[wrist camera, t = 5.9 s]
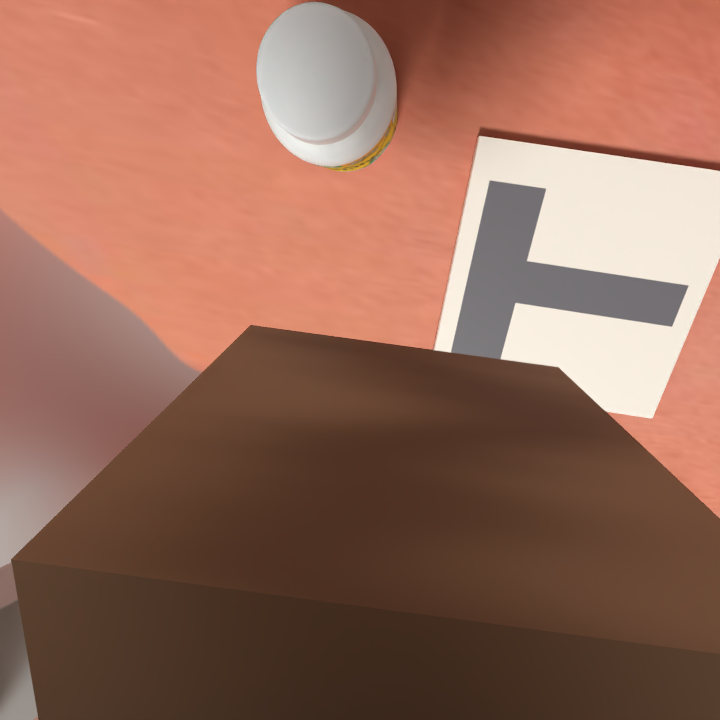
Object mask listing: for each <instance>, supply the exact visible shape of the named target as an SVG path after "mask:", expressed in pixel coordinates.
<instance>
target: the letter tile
mask: <svg viewBox="0 0 720 720" xmlns="http://www.w3.org/2000/svg"><path fill="white" fill-rule="evenodd" d="M719 258H720V171H717V170H710V169H703V168H696V167H690V166H683V165H676V164H669V163H662V162H655V161H649V160H642V159H635V158H628V157H621V156H614V155H608V154H601V153H594V152H587V151H580V150H573V149H567V148H560V147H553V146H546V145H539V144H532V143H526V142H519V141H512V140H505V139H498V138H491V137H485V136H479V137H478V138H477V143H476V147H475V152H474V157H473V162H472V166H471V171H470V176H469V181H468V186H467V190H466V195H465V200H464V205H463V209H462V214H461V219H460V224H459V228H458V233H457V238H456V243H455V247H454V252H453V257H452V262H451V267H450V271H449V276H448V281H447V286H446V290H445V295H444V300H443V305H442V309H441V314H440V319H439V324H438V328H437V333H436V338H435V343H434V347H433V350H437V351H444V352H451V353H459V354H466V355H473V356H481V357H488V358H495V359H503V360H510V361H517V362H525V363H532V364H539V365H547V366H554V367H559V368H560V369H561V370H562V371H563V372H564V373H565V374H566V375H567V376H568V377H569V378H570V379H572V380H573V381H574V382H575V383H576V384H577V385H578V386H579V387H580V388H581V389H582V390H583V391H584V392H585V393H586V394H588V395H589V396H590V397H591V398H592V399H593V400H594V401H595V402H596V403H597V404H598V405H599V406H600V407H601V408H602V409H603V410H605V411H607V412H613V413H619V414H626V415H632V416H638V417H645V418H651V419H652V418H653V415H654V413H655V411H656V408H657V406H658V403H659V401H660V399H661V396H662V394H663V392H664V389H665V387H666V384H667V382H668V380H669V377H670V375H671V373H672V370H673V368H674V365H675V363H676V361H677V358H678V356H679V353H680V351H681V349H682V346H683V344H684V342H685V339H686V337H687V334H688V332H689V330H690V327H691V325H692V323H693V320H694V318H695V315H696V313H697V311H698V308H699V306H700V304H701V301H702V299H703V296H704V294H705V292H706V289H707V287H708V285H709V282H710V280H711V277H712V275H713V273H714V270H715V268H716V265H717V263H718V261H719Z"/></svg>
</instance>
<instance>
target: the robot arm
mask: <svg viewBox="0 0 720 720" xmlns="http://www.w3.org/2000/svg"><path fill="white" fill-rule="evenodd" d="M37 716H38V714H37V708H36V702H35V696H34V690H33V684H32V679H31V673H30V667H29V661H28V655H27V649H26V644H25V638H24V632H23V626H22V620H21V614H20V609H19V603H18V597H17V591H16V585H15V579H14V573H13V568H12V563H9V564H7V565H5V566H3V567H1V568H0V720H33V719H34V718H35V717H37Z"/></svg>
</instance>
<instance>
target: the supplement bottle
mask: <svg viewBox="0 0 720 720" xmlns="http://www.w3.org/2000/svg"><path fill="white" fill-rule="evenodd" d="M256 72H257V83H258V88H259V92H260V95H261V100H262V105H263V110H264V113H265V116H266V119H267V121H268V123H269V125H270V127H271V129H272V131H273V133H274V134H275V136H276V137H277V138H278V140H279V141H280V142H281V143H282V144H283V145H284V146H285V148H287V149H288V150H289V151H290V152H291V153H292V154H294V155H295V156H297V157H299V158H300V159H302V160H304V161H306V162H309V163H312V164H315V165H318V166H322V167H325V168H328V169H331V170H335V171H340V172H350V171H356V170H360V169H362V168H365V167H367V166H369V165H370V164H372V163H373V162H374V161H376V160H377V159H378V158H379V157H380V155H381V154H382V153H383V152H384V151H385V150H386V148H387V147H388V145H389V144H390V142H391V140H392V138H393V135H394V132H395V129H396V124H397V83H396V75H395V69H394V65H393V62H392V59H391V56H390V53H389V51H388V49H387V47H386V45H385V43H384V42H383V40H382V39H381V37H380V36H379V35H378V33H377V32H376V31H375V30H374V29H373V28H372V27H371V26H370V25H369V24H368V23H367V22H365V21H364V20H363V19H361V18H360V17H358V16H356V15H354V14H352V13H350V12H347V11H344V10H341V9H340V8H338V7H336V6H333V5H330V4H327V3H322V2H307V3H302V4H299V5H296V6H293V7H291V8H289V9H287V10H286V11H285V12H283V13H282V14H281V15H280V16H278V17H277V18H276V19H275V20H274V22H273V23H272V24H271V25H270V27H269V28H268V30H267V31H266V33H265V35H264V37H263V39H262V42H261V45H260V48H259V52H258V57H257V67H256Z"/></svg>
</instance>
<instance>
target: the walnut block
mask: <svg viewBox="0 0 720 720" xmlns="http://www.w3.org/2000/svg"><path fill="white" fill-rule="evenodd" d="M11 562H12V568H13V573H14V579H15V585H16V591H17V597H18V603H19V609H20V614H21V620H22V626H23V632H24V638H25V644H26V649H27V655H28V661H29V667H30V673H31V679H32V684H33V690H34V696H35V702H36V708H37V714H38V719H39V720H720V518H719V517H717V516H716V515H715V514H714V513H713V512H712V511H711V510H710V509H709V508H708V507H707V506H706V505H705V504H704V503H703V502H701V501H700V500H699V499H698V498H697V497H696V496H695V495H694V494H693V493H692V492H691V491H690V490H689V489H688V488H687V487H686V486H684V485H683V484H682V483H681V482H680V481H679V480H678V479H677V478H676V477H675V476H674V475H673V474H672V473H671V472H670V471H668V470H667V469H666V468H665V467H664V466H663V465H662V464H661V463H660V462H659V461H658V460H657V459H656V458H655V457H654V456H652V455H651V454H650V453H649V452H648V451H647V450H646V449H645V448H644V447H643V446H642V445H641V444H640V443H639V442H638V441H637V440H635V439H634V438H633V437H632V436H631V435H630V434H629V433H628V432H627V431H626V430H625V429H624V428H623V427H622V426H621V425H619V424H618V423H617V422H616V421H615V420H614V419H613V418H612V417H611V416H610V415H609V414H608V413H607V412H606V411H605V410H603V409H602V408H601V407H600V406H599V405H598V404H597V403H596V402H595V401H594V400H593V399H592V398H591V397H590V396H589V395H588V394H586V393H585V392H584V391H583V390H582V389H581V388H580V387H579V386H578V385H577V384H576V383H575V382H574V381H573V380H572V379H570V378H569V377H568V376H567V375H566V374H565V373H564V372H563V371H562V370H561V369H560V368H559V367H554V366H547V365H539V364H532V363H525V362H517V361H510V360H503V359H495V358H488V357H481V356H473V355H466V354H459V353H451V352H444V351H437V350H429V349H422V348H415V347H407V346H400V345H393V344H385V343H378V342H371V341H363V340H356V339H349V338H341V337H334V336H327V335H319V334H312V333H305V332H297V331H290V330H283V329H275V328H268V327H261V326H253V325H250V326H249V327H248V328H247V329H246V330H245V331H244V332H243V333H242V334H241V335H240V336H239V337H238V338H237V339H236V340H235V341H234V342H233V343H232V344H231V345H230V346H229V347H228V348H227V349H226V350H225V351H224V352H223V353H222V354H221V355H220V356H219V357H218V358H217V359H216V360H215V361H214V362H213V363H212V364H211V365H210V366H209V367H207V368H206V369H205V370H204V371H203V372H202V373H201V374H200V375H199V376H198V377H197V378H196V379H195V380H194V381H193V382H192V383H191V384H190V385H189V386H188V387H187V388H186V389H185V390H184V391H183V392H182V393H181V394H180V395H179V396H178V397H177V398H176V399H175V400H174V401H173V402H172V403H171V404H170V405H169V406H168V407H167V408H166V409H165V410H164V411H162V412H161V413H160V414H159V415H158V416H157V417H156V418H155V419H154V420H153V421H152V422H151V423H150V424H149V425H148V426H147V427H146V428H145V429H144V430H143V431H142V432H141V433H140V434H139V435H138V436H137V437H136V438H135V439H134V440H133V441H132V442H131V443H130V444H129V445H128V446H127V447H126V448H125V449H124V450H123V451H122V452H121V453H120V454H119V455H117V457H115V458H114V459H113V460H112V461H111V462H110V463H109V464H108V465H107V466H106V467H105V468H104V469H103V470H102V471H101V472H100V473H99V474H98V475H97V476H96V477H95V478H94V479H93V480H92V481H91V482H90V483H89V484H88V485H87V486H86V487H85V488H84V489H83V490H82V491H81V492H80V493H79V494H78V495H77V496H76V497H75V498H74V499H72V501H70V502H69V504H67V505H66V506H65V507H64V508H63V509H62V510H61V511H60V512H59V513H58V514H57V515H56V516H55V517H54V518H53V519H52V520H51V521H50V522H49V523H48V524H47V525H46V526H45V527H44V528H43V529H42V530H41V531H40V532H39V533H38V534H37V535H36V536H35V537H34V538H33V539H32V540H31V541H30V542H29V543H27V545H25V547H23V548H22V549H21V550H20V551H19V552H18V553H17V554H16V555H15V556H14V557H13V558H12V559H11Z"/></svg>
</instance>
